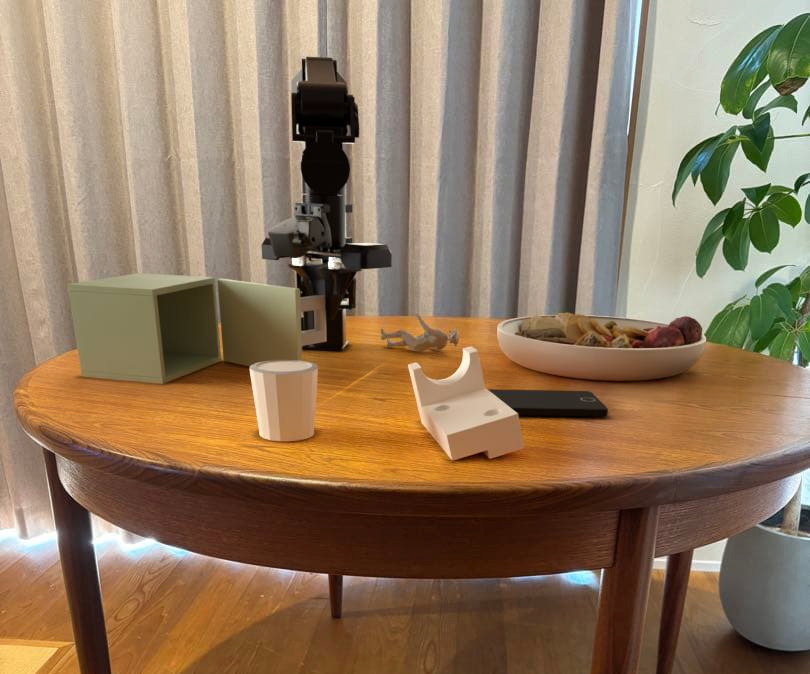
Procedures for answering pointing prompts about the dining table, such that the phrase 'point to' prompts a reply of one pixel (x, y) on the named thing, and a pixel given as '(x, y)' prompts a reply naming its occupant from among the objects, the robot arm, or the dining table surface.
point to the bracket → (465, 411)
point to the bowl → (602, 346)
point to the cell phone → (552, 402)
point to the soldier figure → (421, 338)
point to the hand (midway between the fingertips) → (325, 319)
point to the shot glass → (285, 398)
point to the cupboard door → (266, 322)
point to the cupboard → (145, 326)
